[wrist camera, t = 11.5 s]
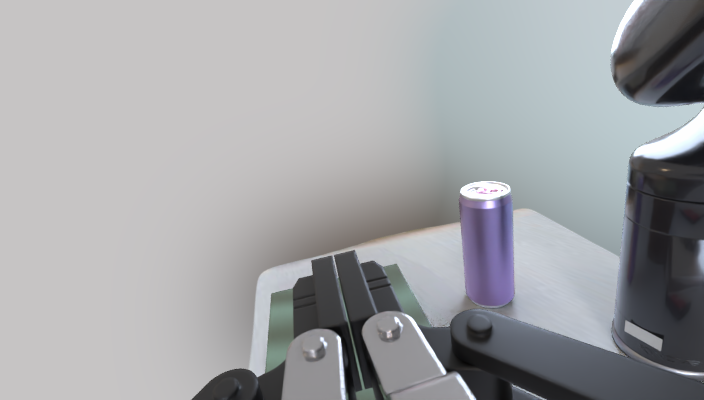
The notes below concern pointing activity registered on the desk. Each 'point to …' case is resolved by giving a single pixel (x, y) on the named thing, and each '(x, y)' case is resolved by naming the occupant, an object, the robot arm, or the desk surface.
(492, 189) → the beverage can
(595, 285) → the desk surface
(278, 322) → the lid
